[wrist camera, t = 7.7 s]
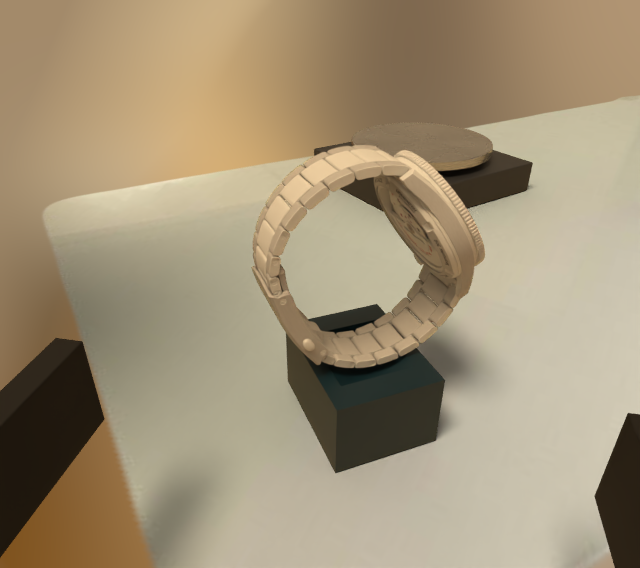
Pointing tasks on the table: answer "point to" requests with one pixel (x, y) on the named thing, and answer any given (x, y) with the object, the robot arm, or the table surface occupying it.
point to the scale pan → (429, 143)
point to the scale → (462, 179)
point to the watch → (370, 322)
